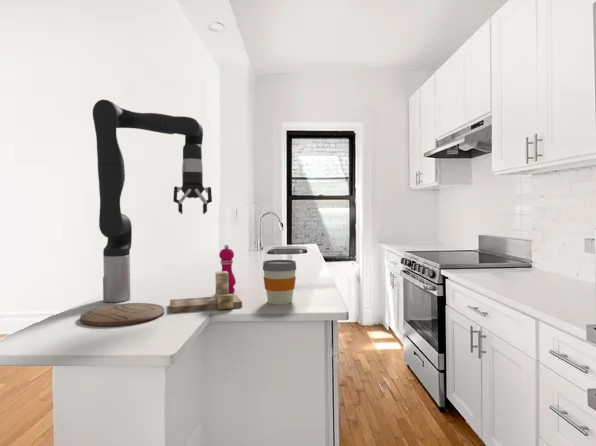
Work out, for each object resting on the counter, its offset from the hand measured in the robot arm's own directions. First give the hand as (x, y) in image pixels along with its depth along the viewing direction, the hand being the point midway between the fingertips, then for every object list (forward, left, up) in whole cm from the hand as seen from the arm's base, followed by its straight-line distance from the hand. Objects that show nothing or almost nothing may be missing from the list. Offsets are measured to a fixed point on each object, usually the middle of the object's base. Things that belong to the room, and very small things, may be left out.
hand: (192, 213), depth 158 cm
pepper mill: (+14, +8, -33) cm, 37 cm away
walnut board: (+3, -14, -33) cm, 36 cm away
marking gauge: (+9, -16, -33) cm, 37 cm away
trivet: (-24, -19, -34) cm, 45 cm away
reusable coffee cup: (+30, -16, -33) cm, 48 cm away
